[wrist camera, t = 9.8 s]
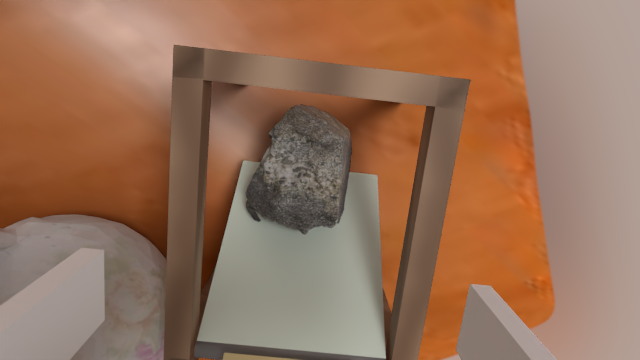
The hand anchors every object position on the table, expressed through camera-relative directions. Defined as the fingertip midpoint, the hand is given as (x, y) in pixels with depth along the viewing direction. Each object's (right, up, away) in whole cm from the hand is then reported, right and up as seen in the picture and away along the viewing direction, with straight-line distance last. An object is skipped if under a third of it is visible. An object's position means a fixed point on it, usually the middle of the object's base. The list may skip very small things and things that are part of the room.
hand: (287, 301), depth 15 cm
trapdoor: (-1, -4, +20) cm, 20 cm away
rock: (-1, +3, +24) cm, 24 cm away
